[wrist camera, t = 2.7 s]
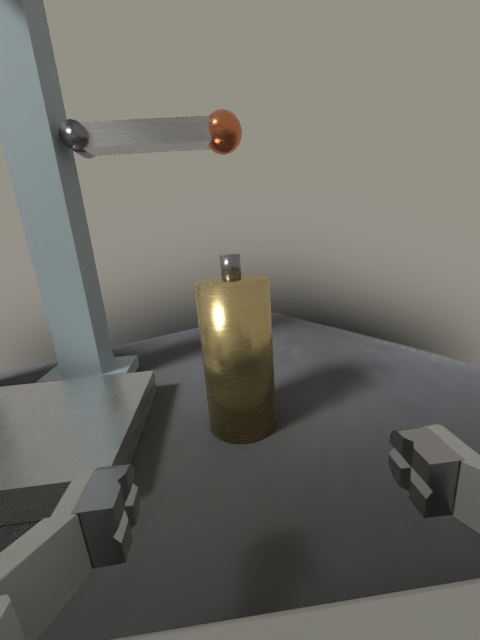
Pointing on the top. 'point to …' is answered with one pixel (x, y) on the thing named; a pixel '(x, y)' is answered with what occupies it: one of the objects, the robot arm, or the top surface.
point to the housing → (237, 352)
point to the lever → (153, 135)
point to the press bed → (66, 436)
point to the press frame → (51, 197)
